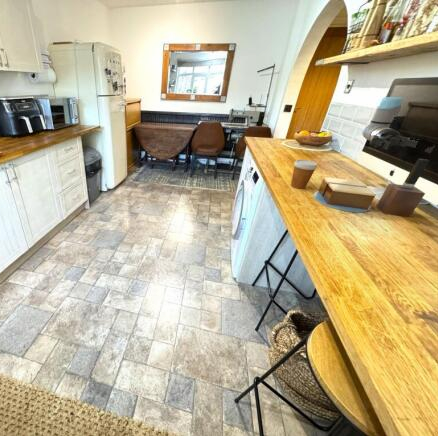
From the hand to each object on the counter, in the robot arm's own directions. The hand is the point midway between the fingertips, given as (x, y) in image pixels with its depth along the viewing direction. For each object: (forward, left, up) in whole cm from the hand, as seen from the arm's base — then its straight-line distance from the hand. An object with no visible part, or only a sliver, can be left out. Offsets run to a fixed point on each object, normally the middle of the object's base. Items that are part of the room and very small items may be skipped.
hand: (411, 148), depth 92 cm
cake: (+1, +18, -23) cm, 29 cm away
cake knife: (-9, +4, -23) cm, 25 cm away
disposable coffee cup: (+18, +26, -23) cm, 39 cm away
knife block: (-9, +4, -23) cm, 25 cm away
